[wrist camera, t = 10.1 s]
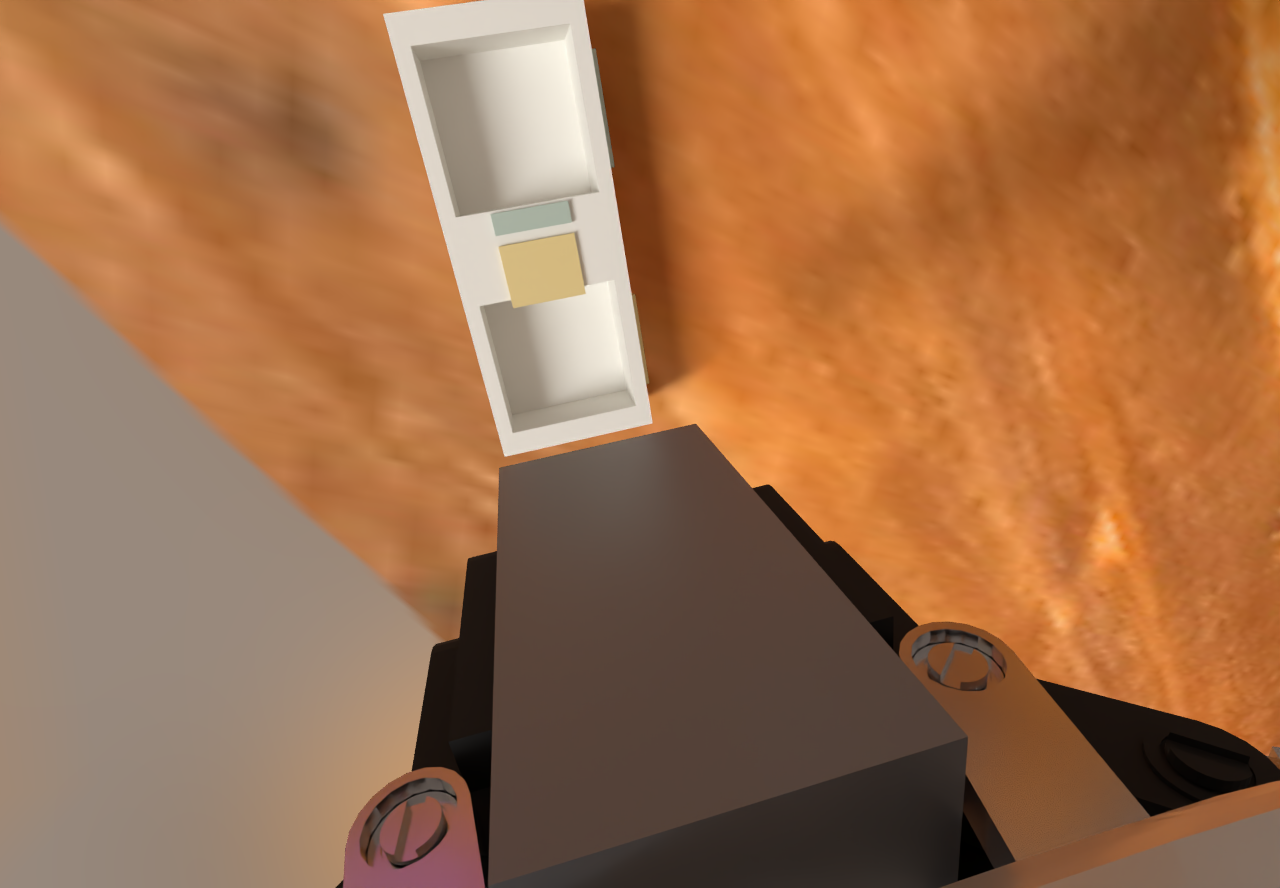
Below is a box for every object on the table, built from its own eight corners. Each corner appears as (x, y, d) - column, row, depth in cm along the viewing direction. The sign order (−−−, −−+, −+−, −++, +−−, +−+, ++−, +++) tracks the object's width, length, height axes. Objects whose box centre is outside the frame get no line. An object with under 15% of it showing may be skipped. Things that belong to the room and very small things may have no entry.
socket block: (576, 13, 25) (587, -16, 21) (641, 399, 31) (657, 423, 28) (399, 38, 24) (382, 12, 20) (504, 429, 30) (504, 458, 27)
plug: (696, 423, 12) (968, 736, 5) (717, 585, 14) (948, 1002, 7) (499, 468, 12) (489, 885, 5) (543, 630, 13) (589, 1135, 6)
